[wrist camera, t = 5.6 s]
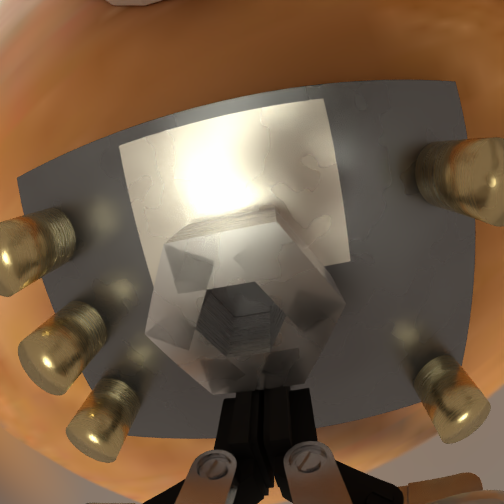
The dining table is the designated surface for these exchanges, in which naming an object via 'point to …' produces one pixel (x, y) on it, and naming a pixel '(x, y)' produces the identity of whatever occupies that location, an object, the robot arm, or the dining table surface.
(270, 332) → the steel nut
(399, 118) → the jig plate
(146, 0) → the white cup
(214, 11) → the dining table surface
